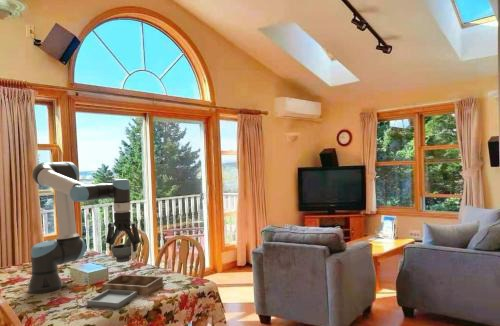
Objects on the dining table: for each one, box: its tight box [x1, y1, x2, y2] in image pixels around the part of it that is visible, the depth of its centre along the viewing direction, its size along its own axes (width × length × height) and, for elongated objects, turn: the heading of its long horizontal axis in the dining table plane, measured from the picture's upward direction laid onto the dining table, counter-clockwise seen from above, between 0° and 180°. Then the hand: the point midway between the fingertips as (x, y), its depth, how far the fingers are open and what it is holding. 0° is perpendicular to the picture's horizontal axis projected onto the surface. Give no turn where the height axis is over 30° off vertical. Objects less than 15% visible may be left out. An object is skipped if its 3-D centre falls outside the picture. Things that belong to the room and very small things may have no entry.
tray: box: [86, 289, 138, 310], centre depth 178 cm, size 16×16×3 cm
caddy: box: [101, 274, 164, 297], centre depth 195 cm, size 24×16×4 cm, turn 75°
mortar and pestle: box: [111, 236, 132, 263], centre depth 187 cm, size 11×9×12 cm
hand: (123, 258), depth 187 cm, fingers closed on mortar and pestle, 10 cm apart
